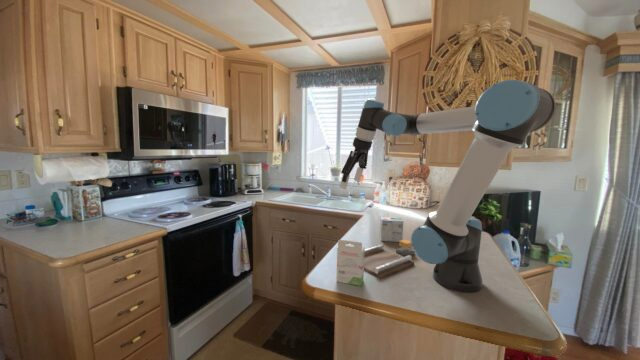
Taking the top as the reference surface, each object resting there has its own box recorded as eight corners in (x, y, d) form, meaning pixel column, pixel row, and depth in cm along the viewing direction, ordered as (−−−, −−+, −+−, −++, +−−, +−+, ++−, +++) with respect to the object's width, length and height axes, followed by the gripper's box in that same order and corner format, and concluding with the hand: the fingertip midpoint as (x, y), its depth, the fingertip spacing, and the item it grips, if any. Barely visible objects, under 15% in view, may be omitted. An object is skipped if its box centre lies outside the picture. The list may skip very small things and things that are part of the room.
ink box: (363, 279, 91) (365, 238, 89) (361, 286, 86) (363, 243, 84) (339, 275, 93) (341, 234, 92) (335, 281, 89) (337, 239, 87)
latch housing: (414, 253, 114) (414, 250, 114) (406, 256, 111) (407, 253, 111) (403, 249, 119) (403, 246, 119) (396, 252, 116) (396, 249, 115)
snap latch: (412, 246, 114) (412, 241, 114) (407, 248, 112) (407, 243, 112) (404, 243, 117) (404, 239, 117) (399, 245, 115) (399, 241, 115)
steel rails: (411, 260, 105) (411, 256, 104) (377, 274, 93) (378, 268, 92) (381, 248, 117) (381, 244, 116) (348, 259, 105) (348, 254, 104)
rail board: (414, 264, 104) (414, 262, 104) (380, 278, 92) (380, 275, 92) (378, 249, 118) (378, 247, 118) (345, 260, 106) (345, 257, 106)
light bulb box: (400, 237, 135) (401, 217, 134) (402, 242, 128) (404, 221, 127) (378, 236, 136) (380, 216, 135) (380, 241, 129) (381, 219, 128)
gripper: (367, 133, 119) (354, 175, 128) (341, 138, 99) (328, 187, 108) (382, 138, 116) (368, 181, 125) (358, 145, 96) (343, 195, 104)
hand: (349, 184), depth 116 cm, fingers open, 13 cm apart
